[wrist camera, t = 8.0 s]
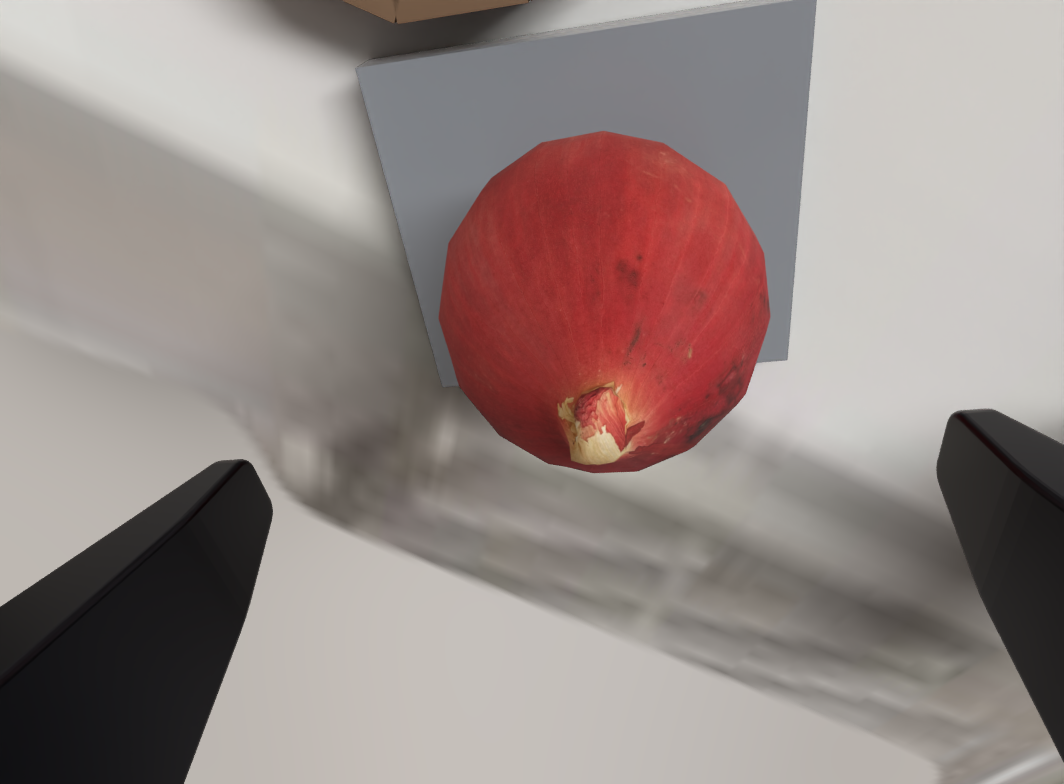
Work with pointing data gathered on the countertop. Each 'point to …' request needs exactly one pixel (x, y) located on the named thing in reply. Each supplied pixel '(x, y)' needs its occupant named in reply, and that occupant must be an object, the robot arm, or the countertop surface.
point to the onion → (604, 302)
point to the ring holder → (426, 8)
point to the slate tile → (602, 123)
